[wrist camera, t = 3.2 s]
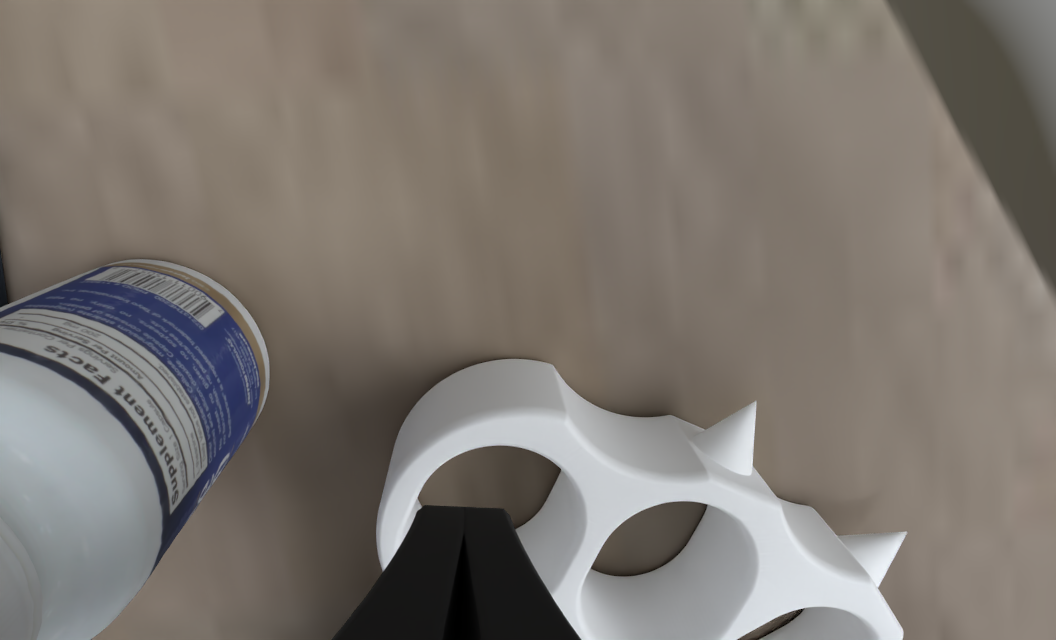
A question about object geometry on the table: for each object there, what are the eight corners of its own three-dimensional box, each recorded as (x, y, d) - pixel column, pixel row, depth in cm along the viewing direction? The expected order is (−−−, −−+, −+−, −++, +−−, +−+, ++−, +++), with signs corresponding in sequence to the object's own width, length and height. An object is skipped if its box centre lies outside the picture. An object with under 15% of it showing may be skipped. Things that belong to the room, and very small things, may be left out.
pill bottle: (125, 486, 18) (-262, 901, 8) (3, 304, 16) (-640, 570, 7) (313, 413, 17) (127, 758, 8) (210, 220, 16) (-168, 380, 7)
